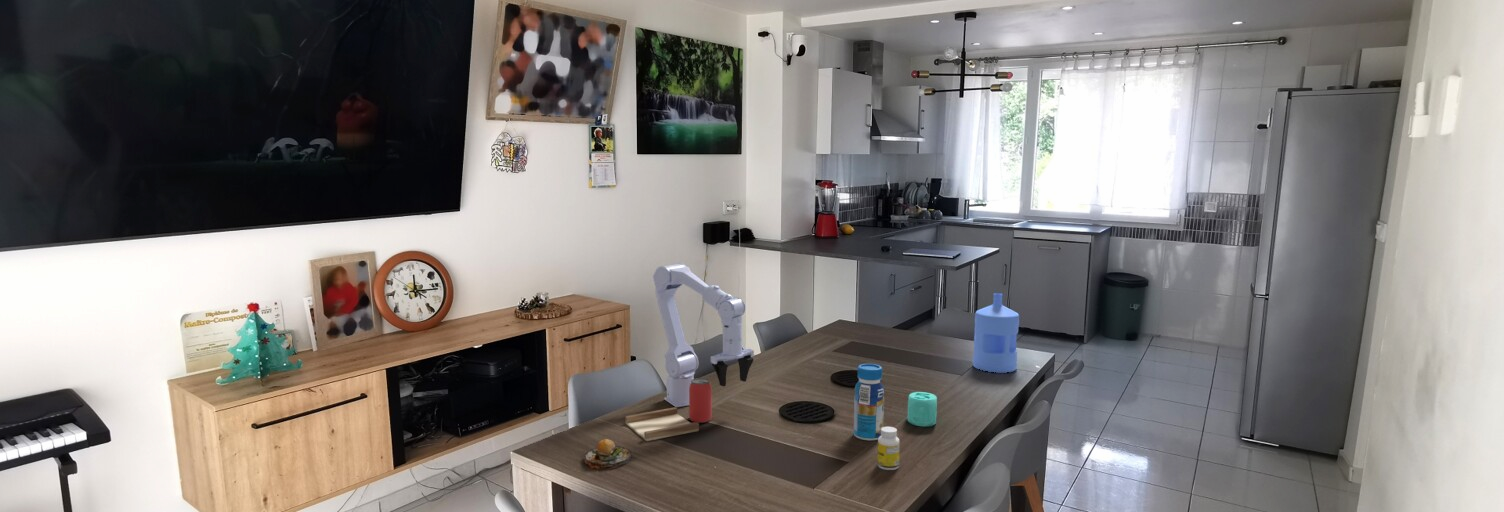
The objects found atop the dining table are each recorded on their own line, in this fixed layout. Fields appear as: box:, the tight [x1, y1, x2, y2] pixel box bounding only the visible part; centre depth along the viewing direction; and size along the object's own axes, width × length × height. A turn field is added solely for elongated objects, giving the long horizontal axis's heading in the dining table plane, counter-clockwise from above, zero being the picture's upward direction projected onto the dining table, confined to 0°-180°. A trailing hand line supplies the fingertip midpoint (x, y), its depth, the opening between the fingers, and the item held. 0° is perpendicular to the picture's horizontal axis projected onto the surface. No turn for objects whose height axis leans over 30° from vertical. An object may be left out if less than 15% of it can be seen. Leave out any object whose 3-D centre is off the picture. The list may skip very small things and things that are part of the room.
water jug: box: [972, 292, 1020, 374], centre depth 278 cm, size 16×16×28 cm
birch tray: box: [624, 406, 700, 442], centre depth 217 cm, size 16×16×2 cm
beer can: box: [688, 377, 713, 424], centre depth 222 cm, size 7×7×12 cm
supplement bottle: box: [876, 426, 901, 471], centre depth 189 cm, size 5×5×10 cm
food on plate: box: [584, 437, 633, 470], centre depth 193 cm, size 12×12×8 cm
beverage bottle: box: [853, 363, 885, 442], centre depth 209 cm, size 8×8×20 cm
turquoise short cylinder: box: [907, 391, 938, 428], centre depth 221 cm, size 8×8×8 cm
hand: (733, 383), depth 225 cm, fingers open, 7 cm apart
